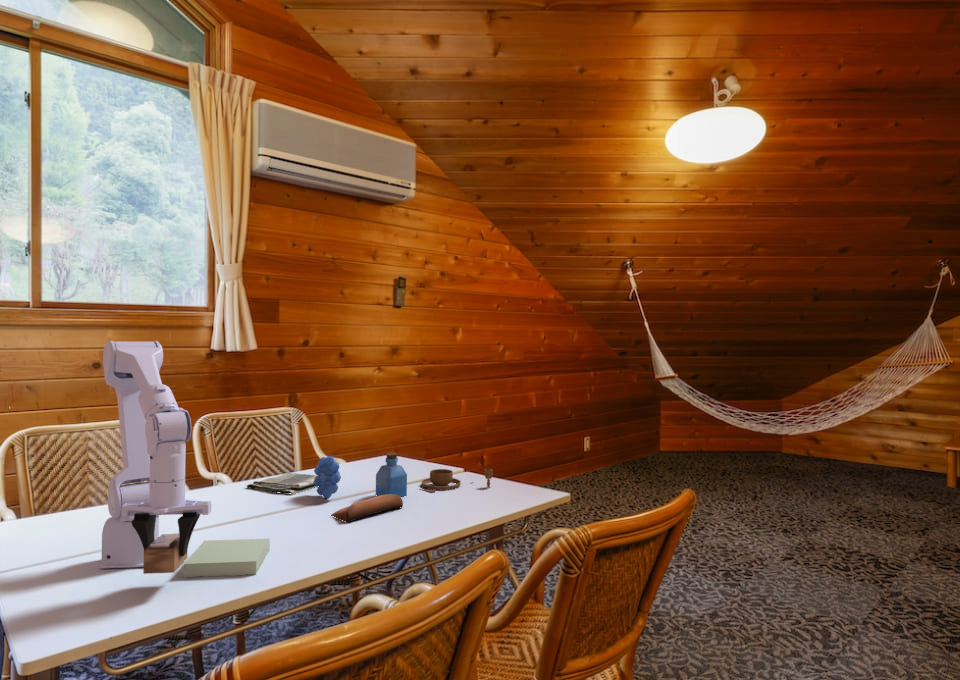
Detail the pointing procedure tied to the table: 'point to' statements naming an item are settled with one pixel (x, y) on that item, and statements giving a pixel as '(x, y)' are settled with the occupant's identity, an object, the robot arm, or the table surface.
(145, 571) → the brown box
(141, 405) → the robot arm
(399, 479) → the perfume bottle
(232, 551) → the stand
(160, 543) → the lid plate
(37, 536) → the table surface
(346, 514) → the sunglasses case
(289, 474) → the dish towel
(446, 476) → the place setting
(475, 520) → the table surface
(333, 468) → the grapes
